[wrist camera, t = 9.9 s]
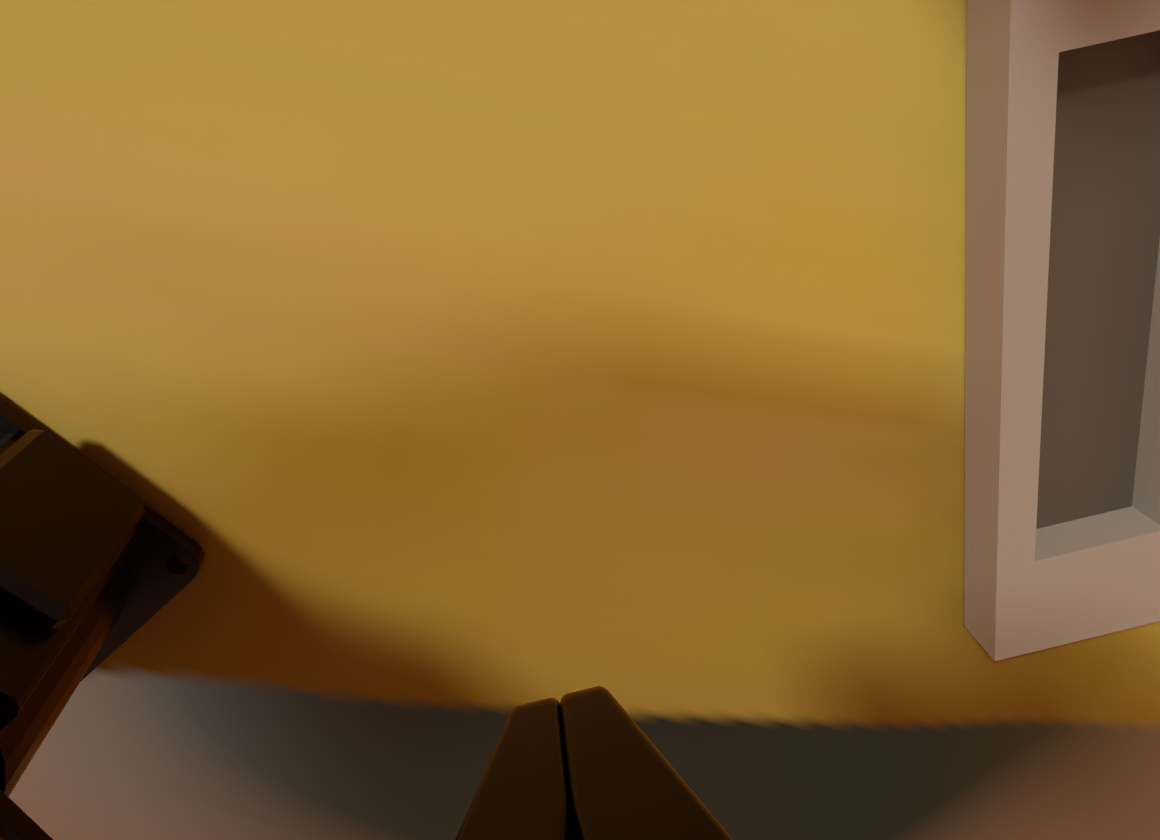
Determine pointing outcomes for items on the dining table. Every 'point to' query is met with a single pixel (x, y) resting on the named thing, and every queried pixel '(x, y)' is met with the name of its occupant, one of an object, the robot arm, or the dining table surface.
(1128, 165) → the board
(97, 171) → the dining table surface
